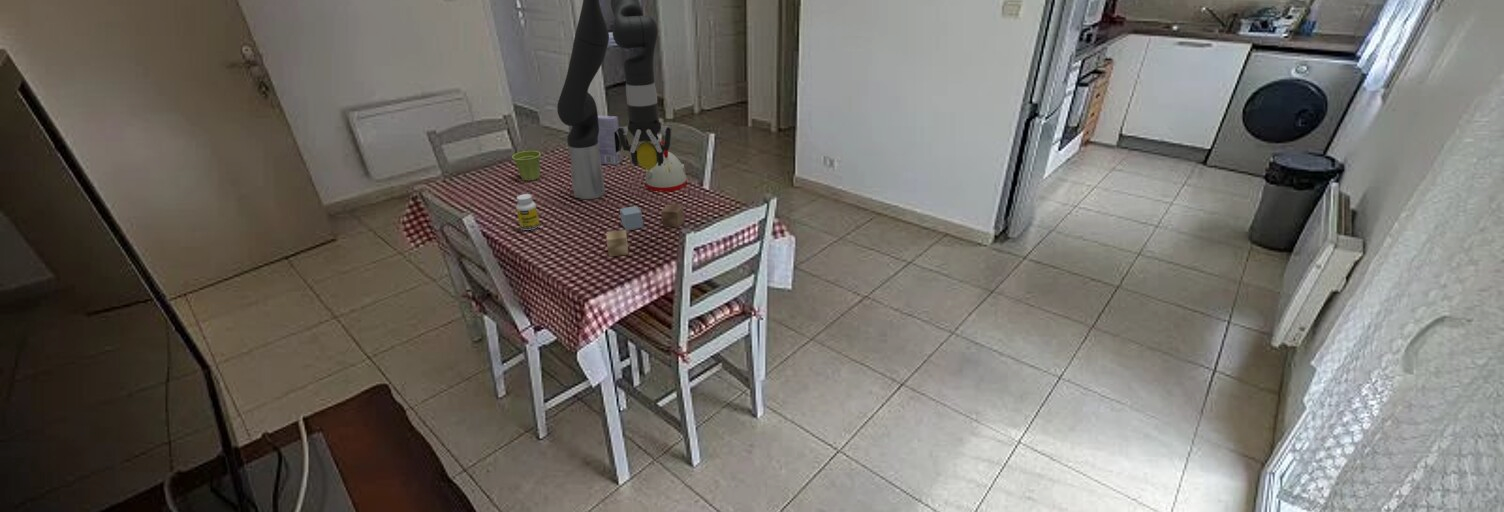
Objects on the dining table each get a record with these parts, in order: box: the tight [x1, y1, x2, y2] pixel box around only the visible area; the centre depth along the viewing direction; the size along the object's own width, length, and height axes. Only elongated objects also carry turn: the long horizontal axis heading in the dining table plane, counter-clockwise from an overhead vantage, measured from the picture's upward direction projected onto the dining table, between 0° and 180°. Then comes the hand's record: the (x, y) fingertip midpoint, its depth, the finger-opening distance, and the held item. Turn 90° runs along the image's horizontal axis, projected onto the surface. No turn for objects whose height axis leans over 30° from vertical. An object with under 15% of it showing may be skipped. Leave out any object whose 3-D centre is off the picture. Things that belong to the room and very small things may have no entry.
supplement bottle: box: [515, 193, 541, 231], centre depth 173 cm, size 5×5×10 cm
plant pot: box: [511, 150, 541, 181], centre depth 209 cm, size 9×9×9 cm
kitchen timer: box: [645, 140, 688, 193], centre depth 200 cm, size 14×14×15 cm
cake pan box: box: [568, 115, 623, 166], centre depth 221 cm, size 19×5×18 cm, turn 79°
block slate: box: [619, 205, 644, 232], centre depth 174 cm, size 5×5×5 cm
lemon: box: [636, 141, 658, 171], centre depth 156 cm, size 6×6×8 cm
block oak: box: [606, 229, 629, 257], centre depth 160 cm, size 5×5×5 cm
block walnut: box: [660, 203, 685, 229], centre depth 174 cm, size 5×5×5 cm
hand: (648, 164), depth 158 cm, fingers closed on lemon, 5 cm apart
